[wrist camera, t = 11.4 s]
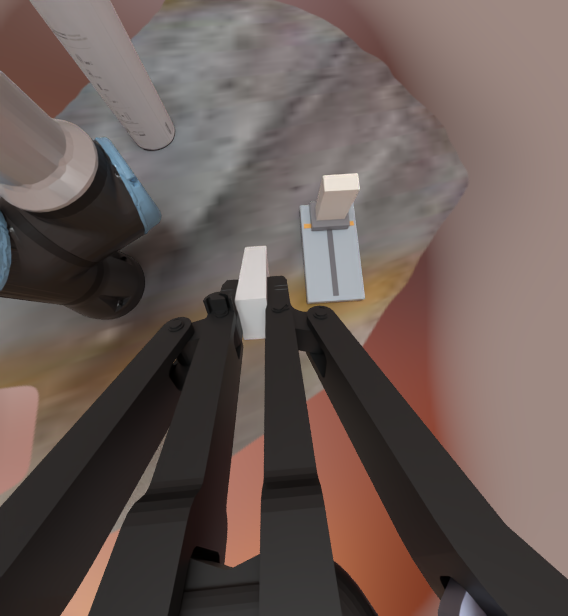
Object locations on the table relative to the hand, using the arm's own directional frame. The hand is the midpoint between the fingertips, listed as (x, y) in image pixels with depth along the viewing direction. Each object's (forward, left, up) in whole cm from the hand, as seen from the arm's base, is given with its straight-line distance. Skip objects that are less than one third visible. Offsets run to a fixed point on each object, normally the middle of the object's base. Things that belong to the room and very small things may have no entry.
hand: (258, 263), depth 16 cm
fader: (+13, +20, -28) cm, 37 cm away
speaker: (-27, +46, -30) cm, 62 cm away
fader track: (+13, +12, -30) cm, 35 cm away
